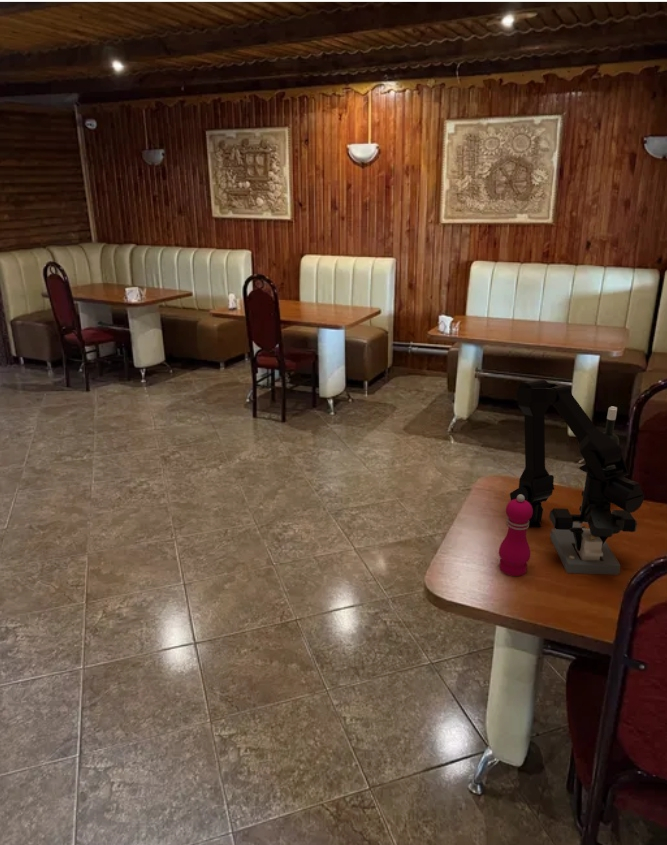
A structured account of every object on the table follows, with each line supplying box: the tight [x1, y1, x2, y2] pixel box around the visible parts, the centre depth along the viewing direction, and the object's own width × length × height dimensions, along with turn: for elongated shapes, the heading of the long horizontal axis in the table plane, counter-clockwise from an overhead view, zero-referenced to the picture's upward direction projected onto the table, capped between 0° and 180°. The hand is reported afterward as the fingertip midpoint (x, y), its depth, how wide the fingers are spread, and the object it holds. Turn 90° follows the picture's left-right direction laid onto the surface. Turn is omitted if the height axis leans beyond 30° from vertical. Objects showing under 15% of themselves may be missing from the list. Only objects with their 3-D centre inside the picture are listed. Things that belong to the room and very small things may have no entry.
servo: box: [575, 525, 603, 561], centre depth 153 cm, size 4×9×6 cm, turn 176°
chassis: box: [550, 528, 621, 576], centre depth 156 cm, size 12×16×3 cm
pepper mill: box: [498, 494, 533, 577], centre depth 148 cm, size 7×7×20 cm
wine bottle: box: [602, 405, 620, 471], centre depth 175 cm, size 6×6×30 cm
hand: (587, 550), depth 153 cm, fingers closed on servo, 4 cm apart
